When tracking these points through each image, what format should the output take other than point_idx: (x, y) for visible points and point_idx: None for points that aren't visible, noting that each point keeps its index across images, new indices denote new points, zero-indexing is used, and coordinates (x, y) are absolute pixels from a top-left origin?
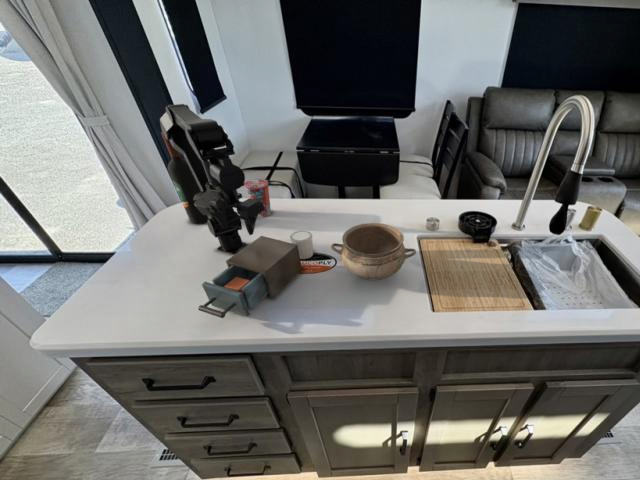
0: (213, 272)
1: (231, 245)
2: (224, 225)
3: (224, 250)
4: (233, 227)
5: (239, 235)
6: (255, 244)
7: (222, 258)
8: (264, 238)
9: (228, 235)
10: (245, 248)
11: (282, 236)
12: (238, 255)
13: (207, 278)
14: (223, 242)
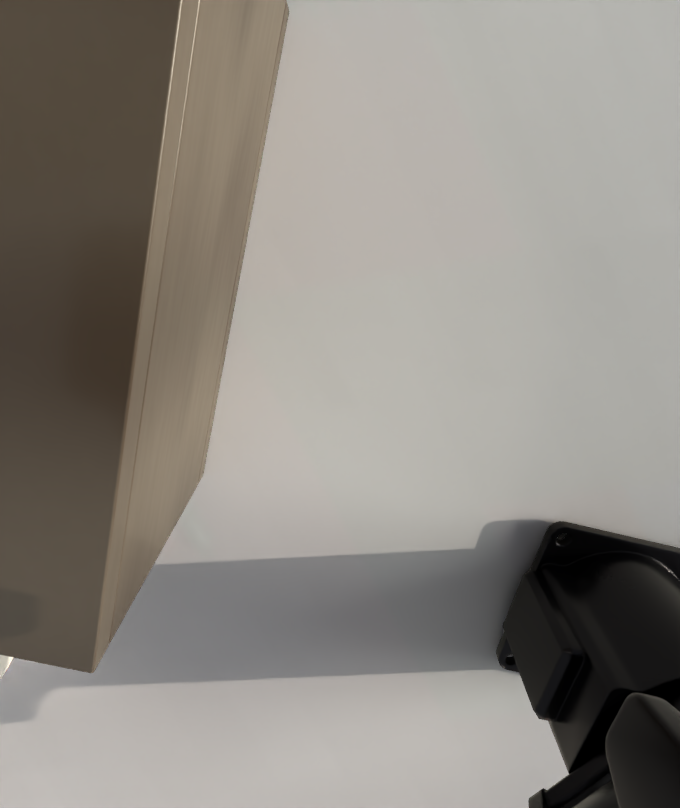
0: (623, 227)
1: (590, 596)
2: (654, 767)
3: (646, 548)
4: (593, 798)
5: (540, 716)
6: (24, 449)
7: (624, 450)
8: (2, 617)
9: (638, 684)
10: (108, 309)
11: (264, 785)
12: (89, 50)
13: (644, 117)
14: (674, 607)
